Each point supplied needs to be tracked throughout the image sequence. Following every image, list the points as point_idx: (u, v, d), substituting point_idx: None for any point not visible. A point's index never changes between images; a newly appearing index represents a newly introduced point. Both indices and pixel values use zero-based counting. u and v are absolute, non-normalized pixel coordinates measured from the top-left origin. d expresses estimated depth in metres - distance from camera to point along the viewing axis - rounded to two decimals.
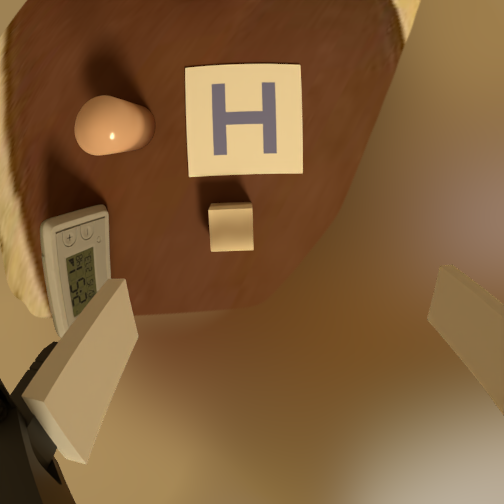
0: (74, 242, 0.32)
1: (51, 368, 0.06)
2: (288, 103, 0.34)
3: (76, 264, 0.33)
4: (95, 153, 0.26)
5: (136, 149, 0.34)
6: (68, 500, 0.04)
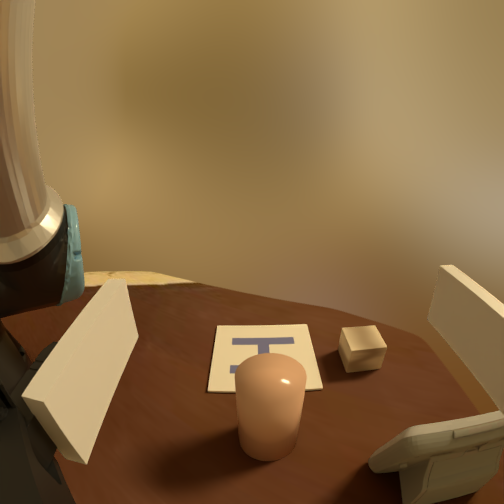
0: None
1: (51, 368, 0.06)
2: (250, 331, 0.46)
3: None
4: (304, 379, 0.24)
5: None
6: (68, 500, 0.04)
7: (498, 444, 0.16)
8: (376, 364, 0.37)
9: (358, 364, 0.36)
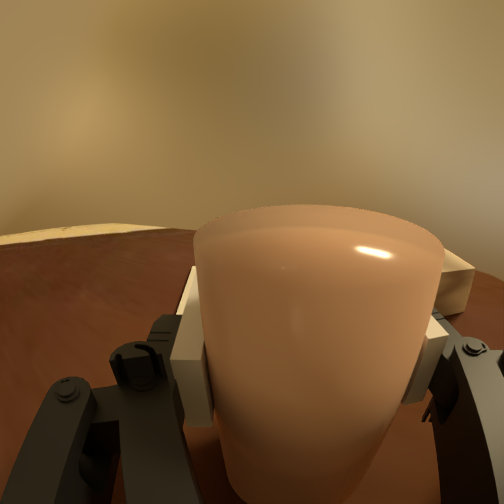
0: None
1: (191, 331, 0.08)
2: None
3: None
4: (431, 237, 0.07)
5: None
6: (195, 476, 0.06)
7: None
8: (460, 303, 0.20)
9: (436, 303, 0.20)
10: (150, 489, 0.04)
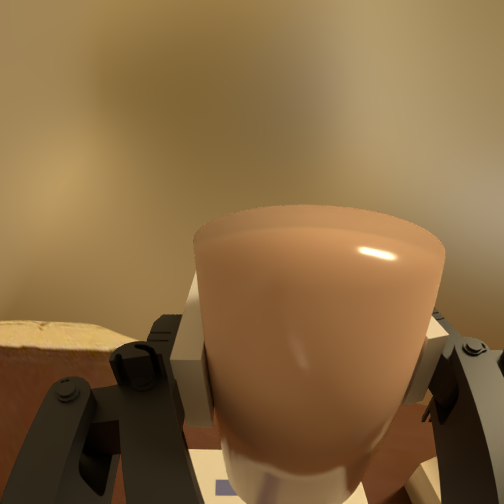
0: None
1: (191, 331, 0.08)
2: None
3: None
4: (431, 238, 0.07)
5: None
6: (195, 476, 0.06)
7: None
8: None
9: None
10: (150, 489, 0.04)
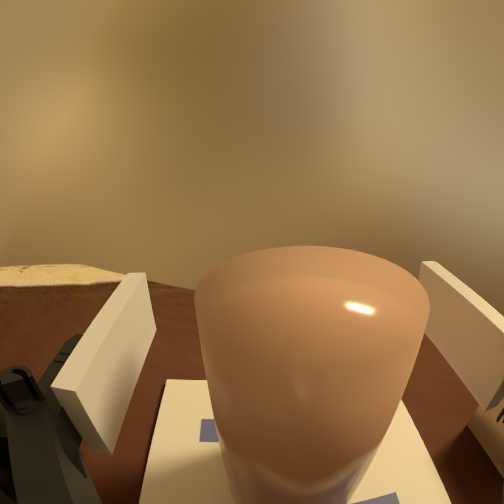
0: None
1: (80, 358, 0.07)
2: None
3: None
4: (419, 289, 0.07)
5: None
6: (93, 494, 0.05)
7: None
8: None
9: None
10: None
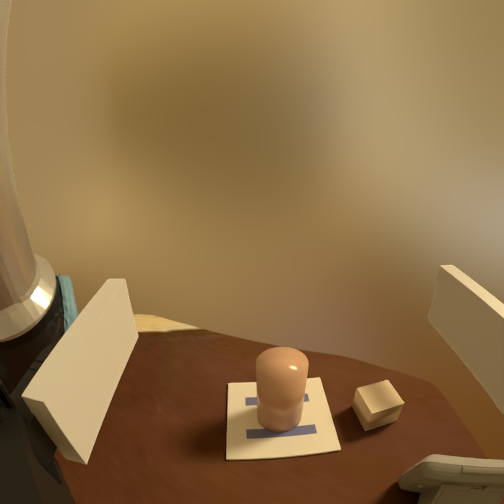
0: None
1: (51, 368, 0.06)
2: None
3: None
4: (306, 364, 0.33)
5: None
6: (68, 500, 0.04)
7: (501, 490, 0.14)
8: (393, 418, 0.34)
9: (376, 422, 0.33)
10: None
